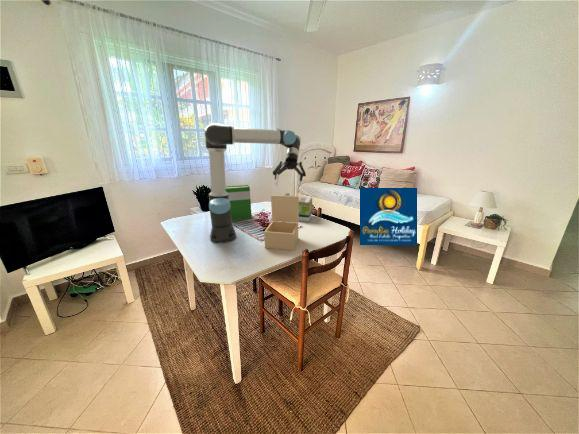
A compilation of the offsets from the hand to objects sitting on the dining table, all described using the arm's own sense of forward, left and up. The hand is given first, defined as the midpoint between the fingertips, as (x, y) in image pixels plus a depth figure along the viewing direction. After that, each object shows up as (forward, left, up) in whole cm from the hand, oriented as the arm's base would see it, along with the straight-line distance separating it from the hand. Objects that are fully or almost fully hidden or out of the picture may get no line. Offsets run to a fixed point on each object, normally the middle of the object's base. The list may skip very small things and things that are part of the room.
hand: (287, 184), depth 134 cm
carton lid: (-3, -7, -13) cm, 15 cm away
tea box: (+18, +22, -31) cm, 42 cm away
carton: (-7, -14, -31) cm, 34 cm away
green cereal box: (-29, +35, -31) cm, 55 cm away
